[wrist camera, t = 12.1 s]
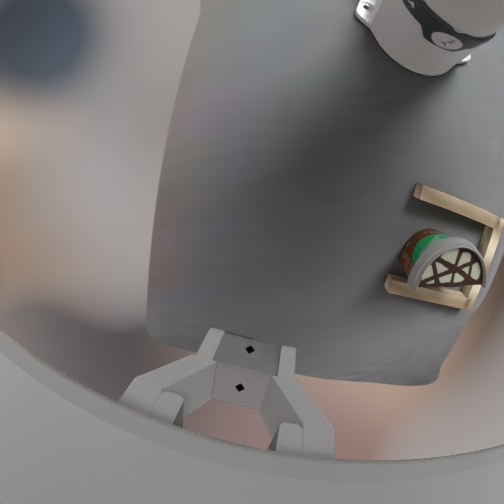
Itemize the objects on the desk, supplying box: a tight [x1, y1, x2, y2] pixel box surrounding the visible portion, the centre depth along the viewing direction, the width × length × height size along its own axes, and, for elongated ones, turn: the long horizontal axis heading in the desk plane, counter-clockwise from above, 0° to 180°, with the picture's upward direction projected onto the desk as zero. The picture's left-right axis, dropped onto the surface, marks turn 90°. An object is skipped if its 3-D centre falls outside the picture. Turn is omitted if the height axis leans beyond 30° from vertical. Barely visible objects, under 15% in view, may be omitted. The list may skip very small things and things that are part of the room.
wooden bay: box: [384, 183, 504, 310], centre depth 35 cm, size 16×17×2 cm
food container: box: [399, 229, 487, 291], centre depth 32 cm, size 12×6×10 cm, turn 93°
